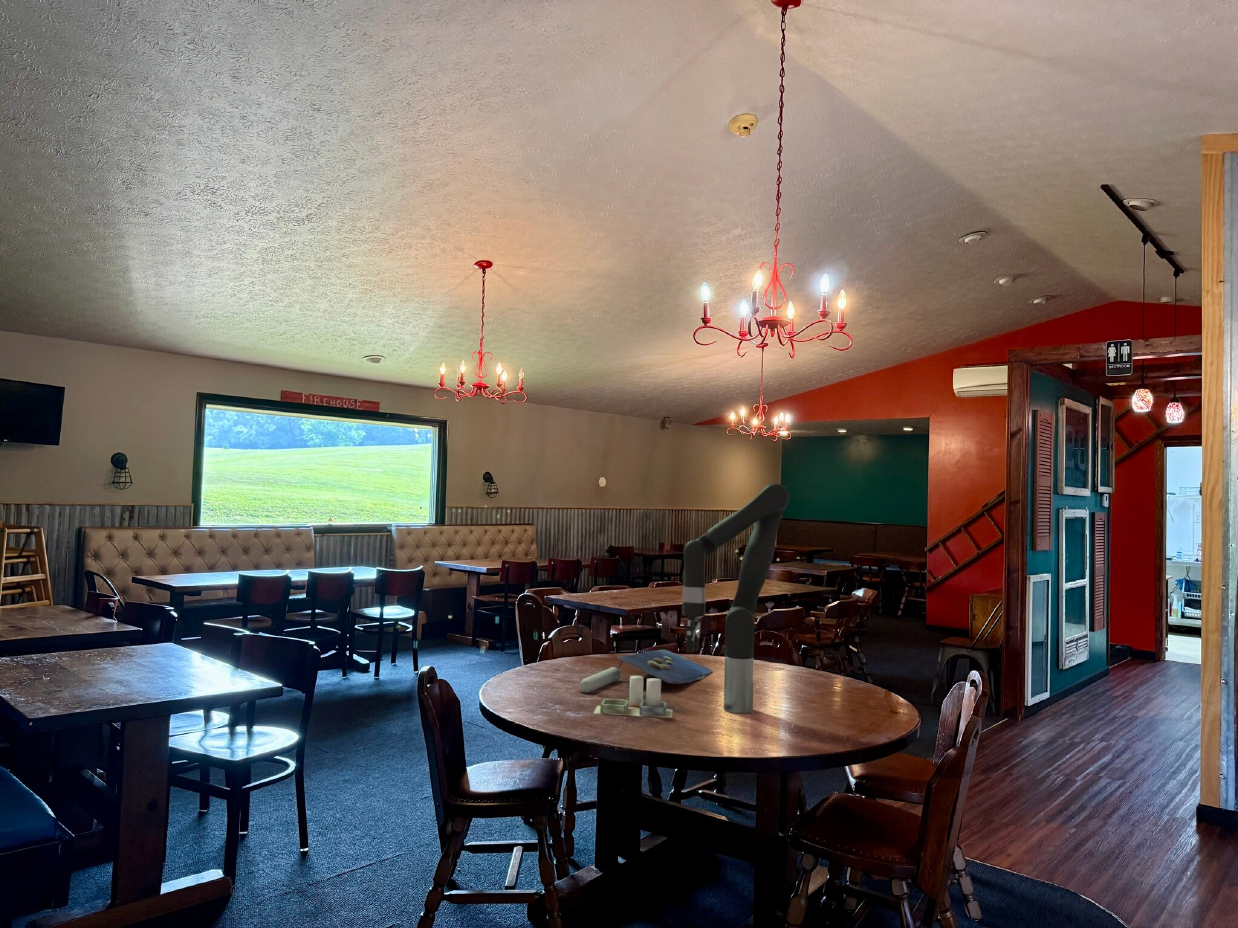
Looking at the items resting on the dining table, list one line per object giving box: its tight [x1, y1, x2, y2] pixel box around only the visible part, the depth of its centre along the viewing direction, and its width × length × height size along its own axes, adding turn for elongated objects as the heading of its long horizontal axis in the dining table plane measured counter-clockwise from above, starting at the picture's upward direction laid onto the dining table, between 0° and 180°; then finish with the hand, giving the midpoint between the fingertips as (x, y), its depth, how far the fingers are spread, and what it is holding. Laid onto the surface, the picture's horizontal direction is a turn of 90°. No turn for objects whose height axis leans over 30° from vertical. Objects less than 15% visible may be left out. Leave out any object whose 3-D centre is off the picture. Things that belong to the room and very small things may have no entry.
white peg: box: [628, 675, 644, 707], centre depth 261 cm, size 5×5×10 cm
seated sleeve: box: [645, 677, 662, 707], centre depth 251 cm, size 5×5×10 cm
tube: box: [579, 666, 621, 694], centre depth 291 cm, size 5×5×25 cm
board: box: [593, 698, 674, 719], centre depth 251 cm, size 24×10×4 cm, turn 85°
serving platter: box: [616, 649, 713, 684], centre depth 311 cm, size 45×27×12 cm, turn 154°
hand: (692, 651), depth 264 cm, fingers open, 8 cm apart
